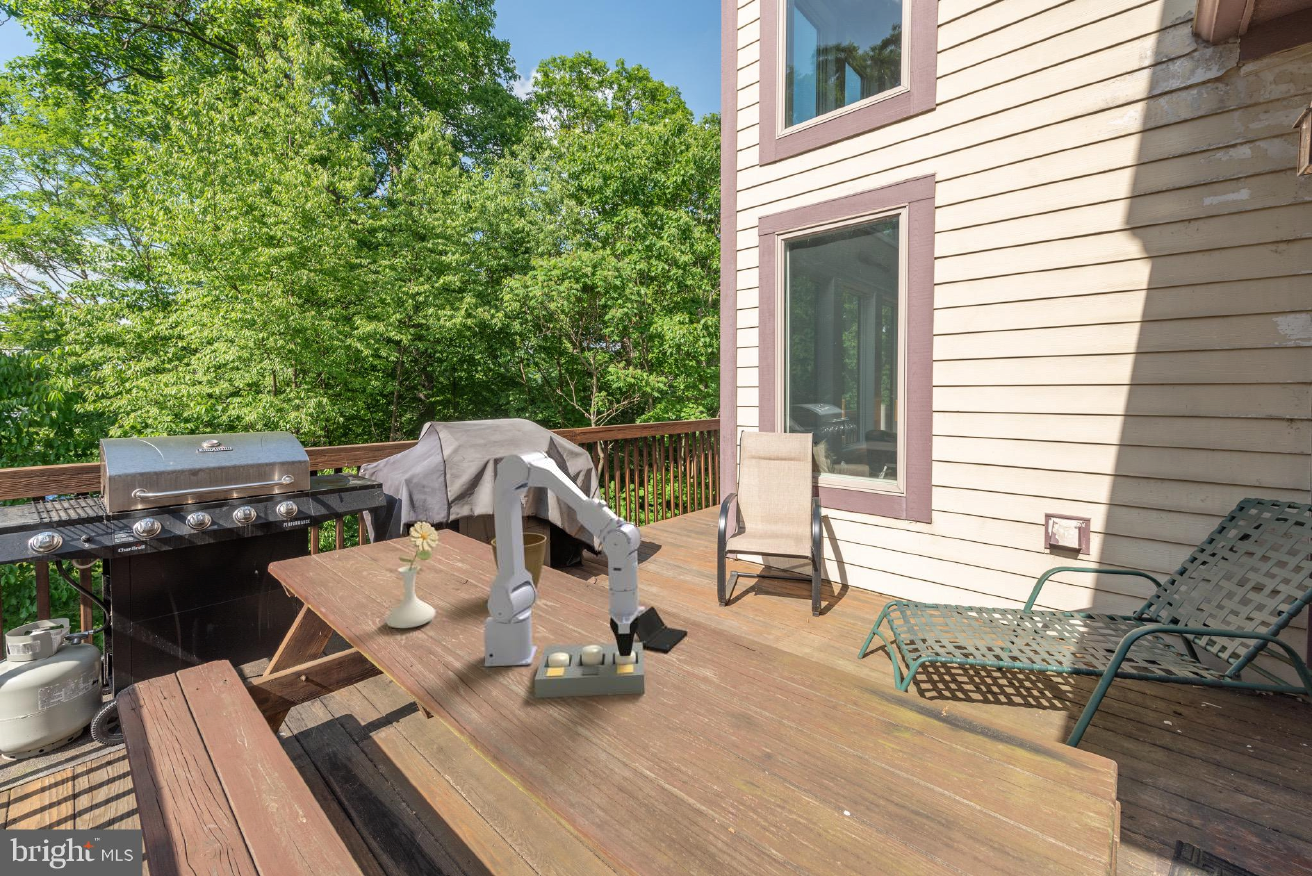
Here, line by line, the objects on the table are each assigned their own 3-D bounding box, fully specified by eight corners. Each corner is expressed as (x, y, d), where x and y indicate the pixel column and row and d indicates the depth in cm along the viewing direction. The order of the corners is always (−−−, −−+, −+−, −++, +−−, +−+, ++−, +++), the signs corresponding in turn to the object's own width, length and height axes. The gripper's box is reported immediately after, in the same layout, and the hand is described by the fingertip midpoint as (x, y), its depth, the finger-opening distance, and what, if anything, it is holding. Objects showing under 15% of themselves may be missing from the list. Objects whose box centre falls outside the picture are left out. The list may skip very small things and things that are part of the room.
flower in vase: (394, 637, 133) (388, 531, 131) (379, 623, 141) (374, 523, 139) (449, 621, 141) (445, 522, 139) (433, 609, 150) (428, 515, 148)
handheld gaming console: (677, 647, 120) (650, 606, 123) (651, 665, 122) (625, 624, 124) (690, 633, 131) (666, 596, 134) (666, 650, 133) (642, 613, 135)
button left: (547, 677, 109) (546, 662, 109) (550, 667, 113) (549, 653, 113) (568, 676, 109) (567, 661, 109) (570, 667, 113) (569, 652, 113)
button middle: (581, 669, 109) (580, 654, 109) (582, 660, 113) (582, 645, 113) (602, 669, 109) (601, 653, 109) (602, 659, 113) (602, 644, 113)
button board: (535, 698, 104) (534, 678, 104) (546, 662, 118) (545, 645, 118) (644, 693, 105) (644, 673, 105) (642, 658, 119) (642, 641, 119)
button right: (615, 674, 110) (614, 659, 109) (615, 665, 113) (615, 650, 113) (635, 673, 110) (635, 658, 109) (635, 664, 114) (635, 649, 113)
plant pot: (484, 595, 160) (482, 539, 159) (532, 583, 170) (530, 530, 169) (508, 609, 149) (506, 549, 148) (558, 595, 158) (556, 539, 157)
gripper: (645, 598, 103) (646, 671, 104) (643, 574, 118) (644, 638, 119) (606, 600, 103) (608, 673, 104) (609, 575, 118) (610, 639, 118)
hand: (625, 654), depth 111 cm, fingers closed, pressing on button right
